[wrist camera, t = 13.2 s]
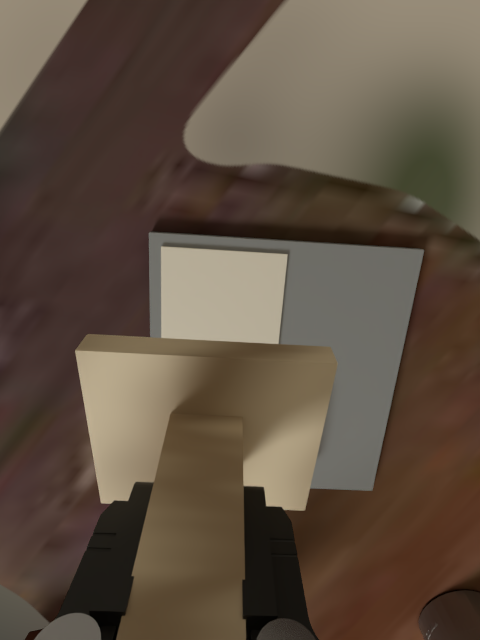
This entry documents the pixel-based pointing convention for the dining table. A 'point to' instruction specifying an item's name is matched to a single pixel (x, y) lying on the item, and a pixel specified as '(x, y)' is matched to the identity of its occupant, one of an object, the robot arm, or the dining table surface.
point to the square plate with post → (200, 462)
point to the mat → (333, 334)
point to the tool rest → (221, 294)
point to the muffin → (33, 634)
